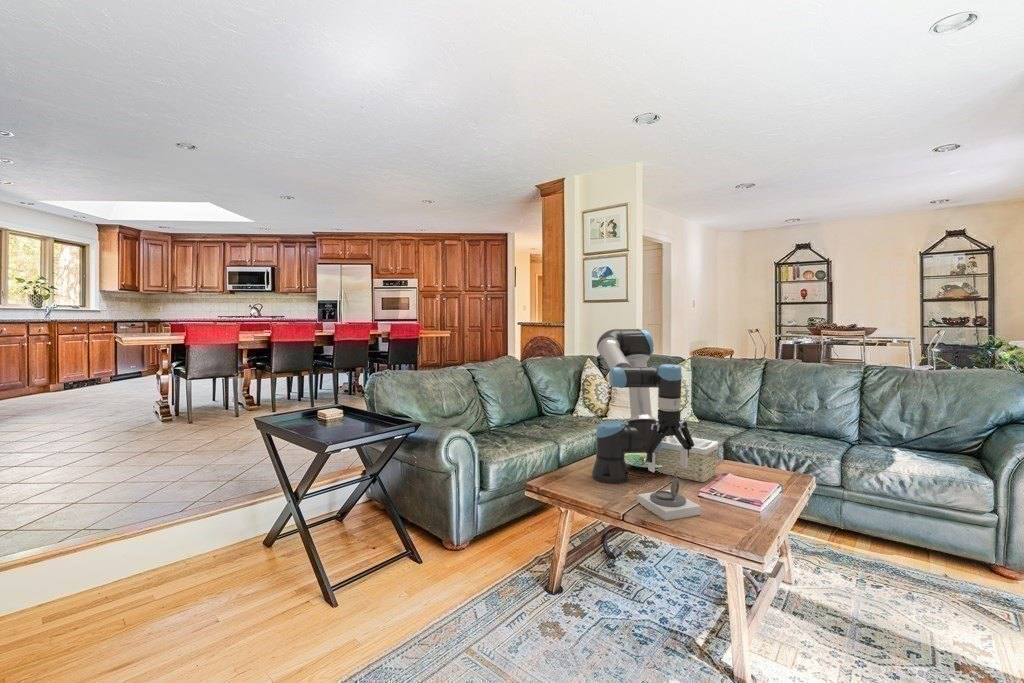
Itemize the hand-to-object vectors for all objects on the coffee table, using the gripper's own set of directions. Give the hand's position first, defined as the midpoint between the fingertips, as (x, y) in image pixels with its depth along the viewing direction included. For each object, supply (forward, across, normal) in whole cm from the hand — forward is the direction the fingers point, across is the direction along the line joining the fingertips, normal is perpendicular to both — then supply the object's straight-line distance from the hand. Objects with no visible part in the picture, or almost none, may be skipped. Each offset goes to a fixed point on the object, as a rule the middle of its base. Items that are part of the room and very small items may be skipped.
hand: (667, 468), depth 163 cm
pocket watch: (+10, 0, -1) cm, 10 cm away
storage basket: (+15, +30, +28) cm, 44 cm away
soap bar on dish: (+14, 0, -1) cm, 14 cm away
